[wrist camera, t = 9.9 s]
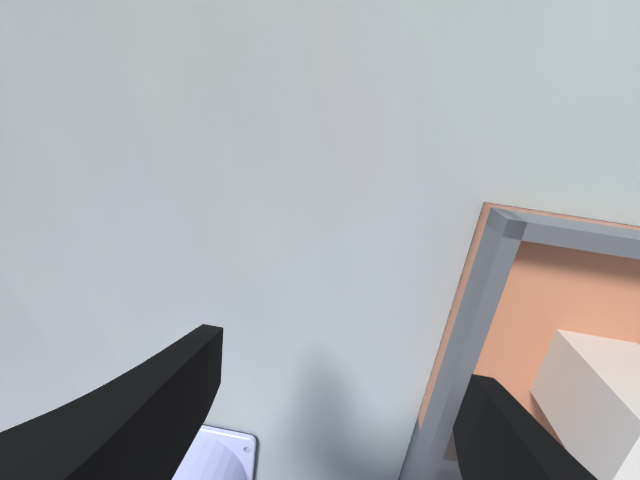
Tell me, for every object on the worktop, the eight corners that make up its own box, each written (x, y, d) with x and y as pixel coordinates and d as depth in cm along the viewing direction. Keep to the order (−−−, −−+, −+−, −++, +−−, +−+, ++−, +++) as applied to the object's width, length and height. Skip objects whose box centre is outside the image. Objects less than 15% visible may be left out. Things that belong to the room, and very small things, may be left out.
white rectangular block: (604, 403, 19) (705, 524, 13) (529, 390, 19) (598, 502, 14) (637, 343, 18) (766, 449, 12) (556, 329, 18) (645, 426, 12)
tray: (562, 595, 26) (586, 653, 23) (375, 554, 27) (376, 606, 24) (786, 249, 16) (873, 277, 14) (483, 202, 17) (507, 219, 14)
